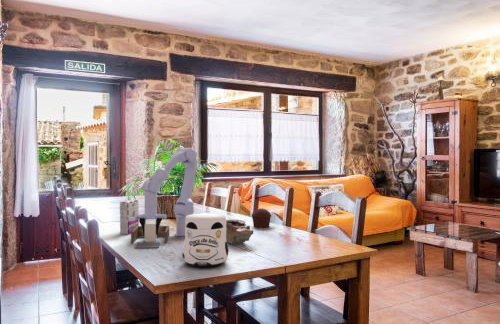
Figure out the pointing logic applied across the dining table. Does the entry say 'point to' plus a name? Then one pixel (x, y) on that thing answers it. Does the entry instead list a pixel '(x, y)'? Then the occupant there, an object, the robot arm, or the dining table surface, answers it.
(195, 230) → the dulce de leche canister
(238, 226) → the grey-brown irregular lump
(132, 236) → the walnut u-shaped frame
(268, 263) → the dining table surface
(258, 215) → the muffin
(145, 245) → the charcoal mat
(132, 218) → the candy bar box
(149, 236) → the cream block
